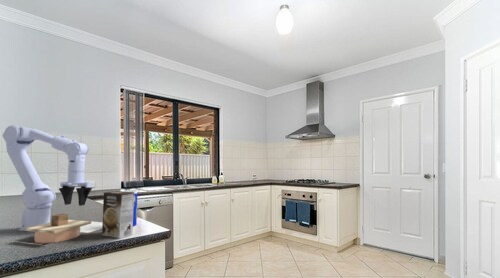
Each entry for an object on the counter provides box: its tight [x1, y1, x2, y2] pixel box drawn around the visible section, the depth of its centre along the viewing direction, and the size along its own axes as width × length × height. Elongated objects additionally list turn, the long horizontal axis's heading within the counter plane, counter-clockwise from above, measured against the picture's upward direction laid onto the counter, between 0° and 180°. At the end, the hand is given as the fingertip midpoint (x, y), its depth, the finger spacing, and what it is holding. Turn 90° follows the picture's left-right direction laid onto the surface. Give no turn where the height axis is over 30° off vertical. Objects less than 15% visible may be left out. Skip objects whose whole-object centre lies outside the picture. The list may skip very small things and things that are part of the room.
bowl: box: [33, 227, 81, 245], centre depth 95 cm, size 13×13×4 cm
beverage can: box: [124, 189, 138, 227], centre depth 112 cm, size 5×5×15 cm
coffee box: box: [101, 190, 134, 240], centre depth 99 cm, size 9×6×16 cm
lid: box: [25, 213, 91, 234], centre depth 96 cm, size 14×14×4 cm
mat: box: [80, 220, 103, 234], centre depth 110 cm, size 15×15×1 cm
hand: (74, 204), depth 108 cm, fingers open, 7 cm apart
